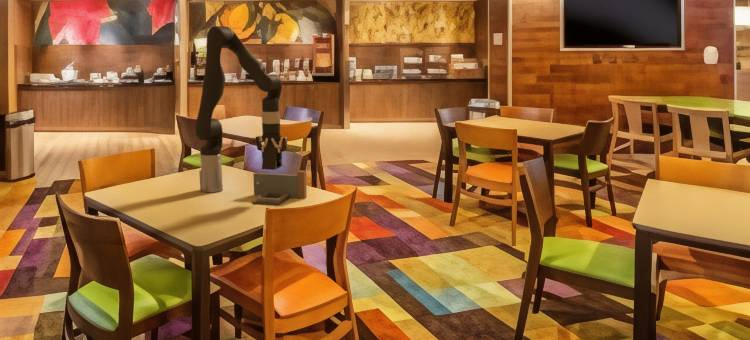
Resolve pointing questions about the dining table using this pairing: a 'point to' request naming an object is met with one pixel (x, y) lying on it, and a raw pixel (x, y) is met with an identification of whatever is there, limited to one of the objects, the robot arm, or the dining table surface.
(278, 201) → the stopper pocket
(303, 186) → the dark grey panel
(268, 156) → the phone stand
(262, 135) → the robot arm
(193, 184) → the dining table surface
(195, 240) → the dining table surface
